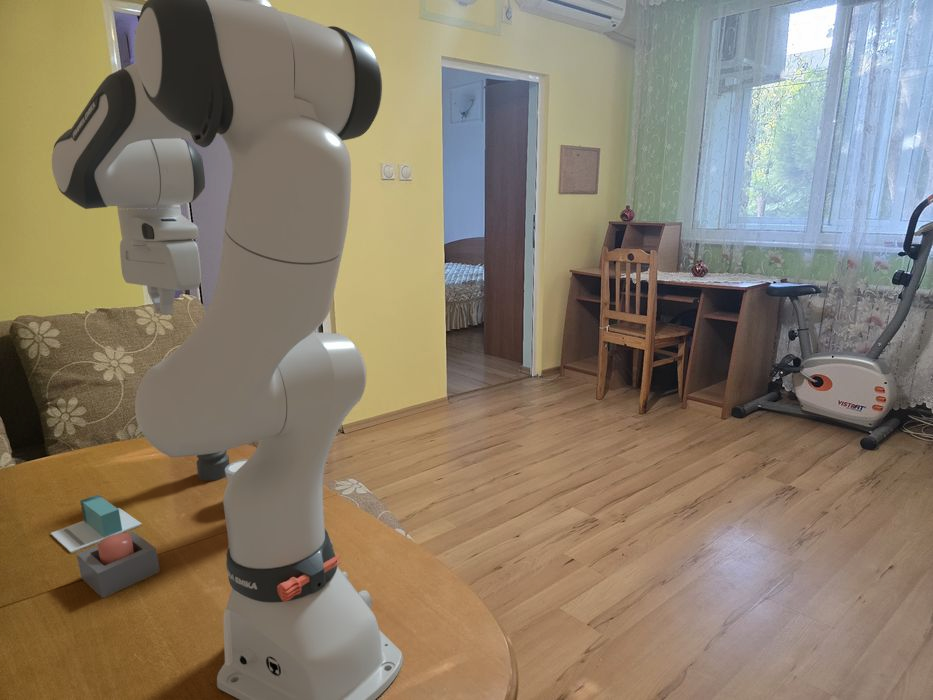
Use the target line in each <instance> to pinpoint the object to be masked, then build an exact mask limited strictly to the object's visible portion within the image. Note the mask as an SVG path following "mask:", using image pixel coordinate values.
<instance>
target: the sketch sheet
mask: <svg viewBox="0 0 933 700" xmlns="http://www.w3.org/2000/svg"><path fill="white" fill-rule="evenodd" d="M116 508H117V509H119V514H120V520H121V526H122V531H120V532H117V533H115V534H119V533H127V532H128V531H130V530H134V529H136V528H138V527H141V526H143V524H142V522H140V521H139V520H137V519H136V518H134V517H133V516H132V515H130V514H129V513H128V512H126V511H124V510H123V509H122V508H120V507H116ZM50 535H51V536H52V537H53V538H54V539H55V540H56V541H57V542H58V543H59V544H60V545H62V547H64V548H65V549H66V550H67V551H68V552H69V553H70V554H74V553H76V552H78V551H81V550H84V549H85V548H88V547H90V546H93V545H97V544H98V543H99V542H100V541H101V540H102V539H104V538H106V537H103V536H102V535H101V534H100V533H98V532H97V531H96V530H95V529H93V528H92V527H91V526H90V525H88V524H87V523H86V522H85V521H84V520H82V521H79V522H76V523H74V524H71V525H68V526H65V527H63V528H61V529H58V530H55V531H52V532H50ZM112 535H114V534H112ZM110 536H111V535H110ZM107 537H108V536H107Z"/></svg>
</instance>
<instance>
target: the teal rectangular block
mask: <svg viewBox="0 0 933 700" xmlns="http://www.w3.org/2000/svg"><path fill="white" fill-rule="evenodd" d="M80 506H81V511H82V517H83V521H85V522H86V523H87V524H88V525H90V526H91V527H92V528H93V529H95V530H96V531H97V532H98V533H100V534H101V535H102V536H103V537H107V536H110V535H112V534H115V533H117V532H120V531H122V526H121V520H120V514H119V509H117V508H118V507H116V506H115V505H113V504H112V503H111V502H109V501H108V500H106V499H105V498H104V497H102V496H100V495H99V494H96V495H92V496H90V497H89V496H88V497H87V498H84V499H81V500H80Z"/></svg>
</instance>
